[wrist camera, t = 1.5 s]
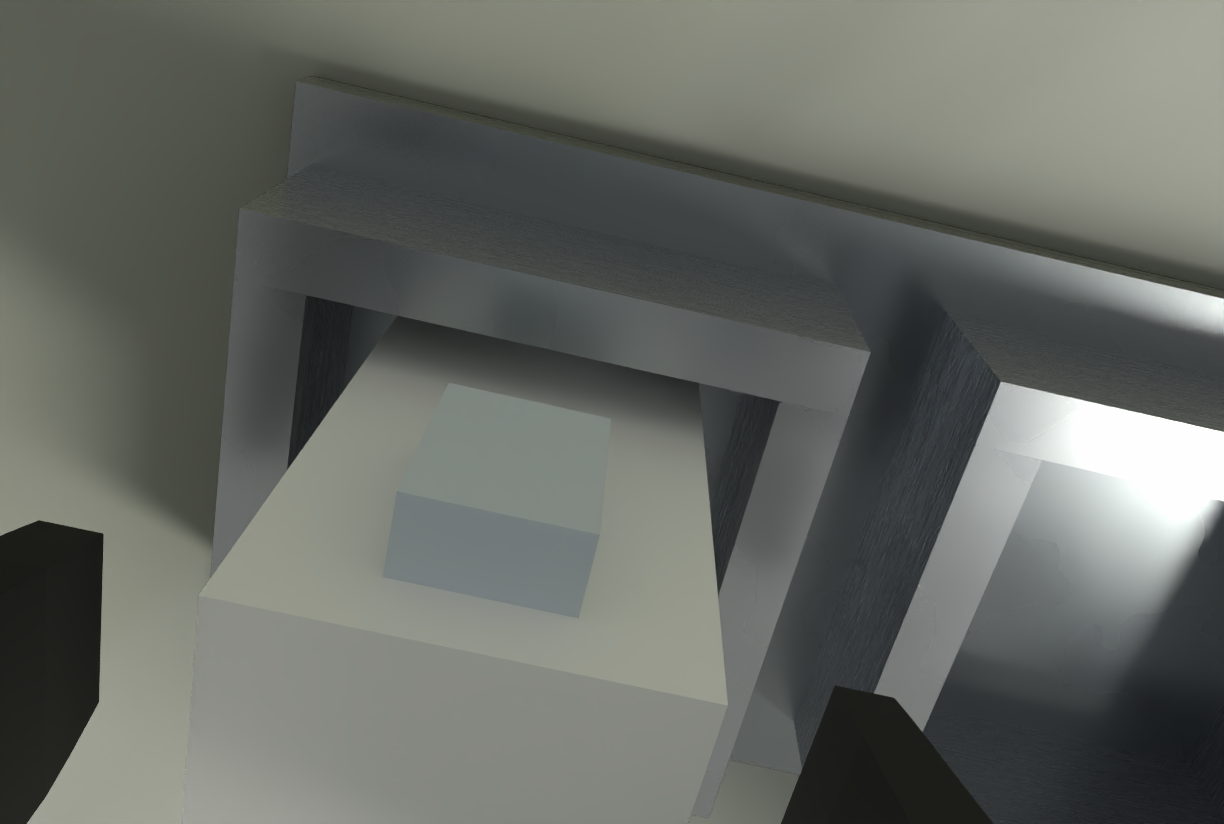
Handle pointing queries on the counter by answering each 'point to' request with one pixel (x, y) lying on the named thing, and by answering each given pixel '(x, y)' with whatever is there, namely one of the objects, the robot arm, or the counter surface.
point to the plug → (469, 603)
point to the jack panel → (810, 432)
